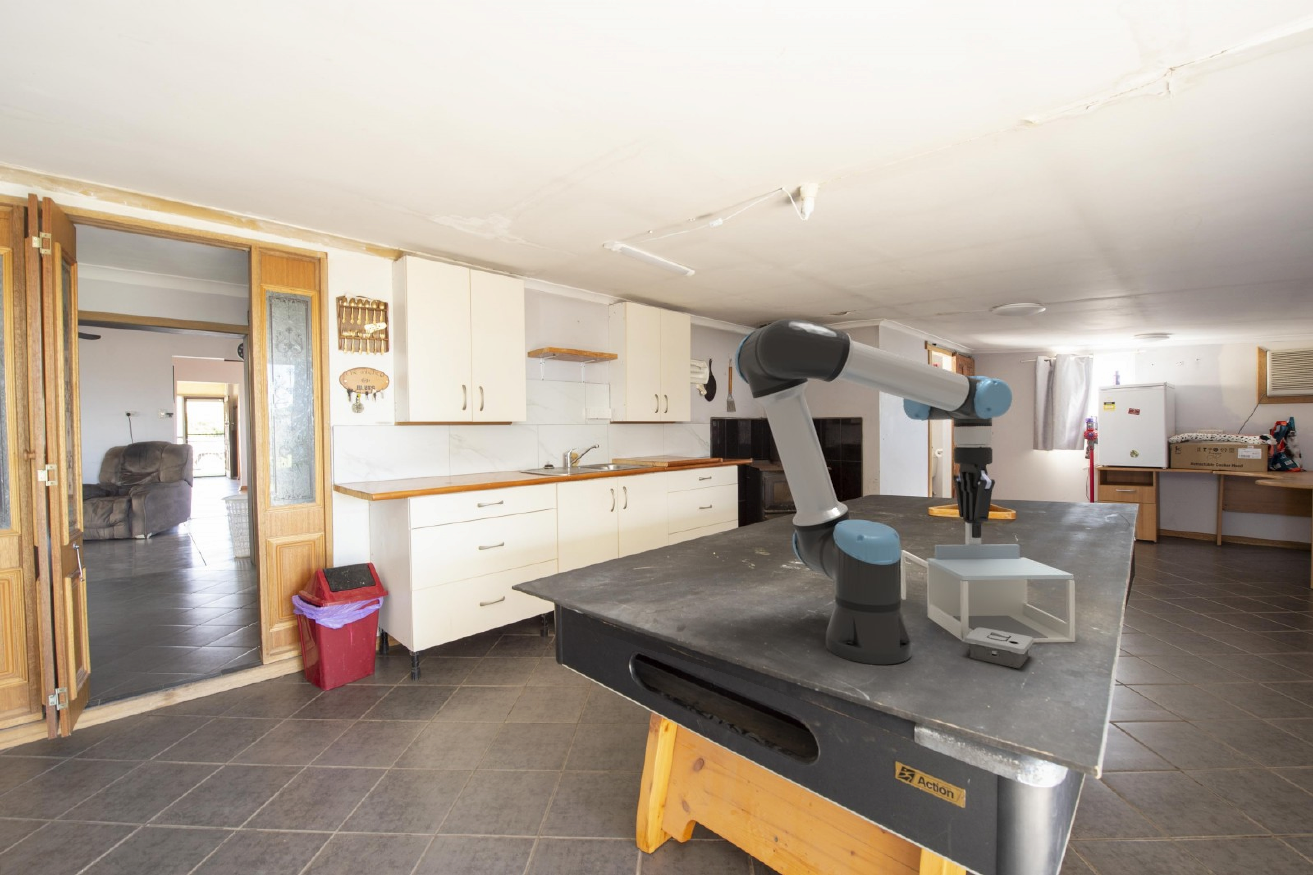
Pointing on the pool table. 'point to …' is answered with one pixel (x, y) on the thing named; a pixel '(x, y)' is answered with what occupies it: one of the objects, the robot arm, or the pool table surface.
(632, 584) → the pool table surface
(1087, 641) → the pool table surface
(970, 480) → the robot arm
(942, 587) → the housing
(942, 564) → the lid
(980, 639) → the gray toolbox
